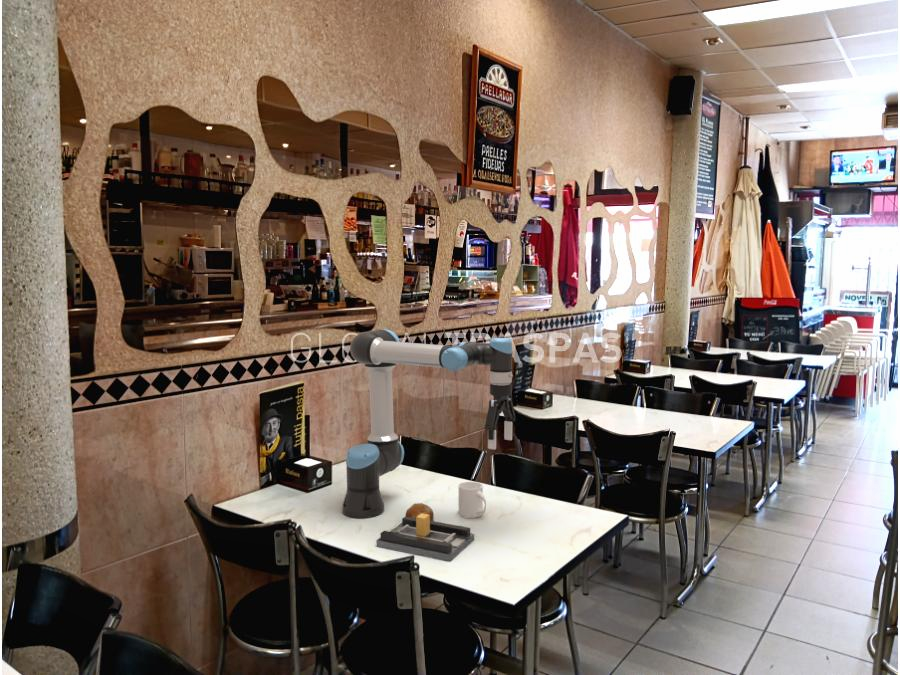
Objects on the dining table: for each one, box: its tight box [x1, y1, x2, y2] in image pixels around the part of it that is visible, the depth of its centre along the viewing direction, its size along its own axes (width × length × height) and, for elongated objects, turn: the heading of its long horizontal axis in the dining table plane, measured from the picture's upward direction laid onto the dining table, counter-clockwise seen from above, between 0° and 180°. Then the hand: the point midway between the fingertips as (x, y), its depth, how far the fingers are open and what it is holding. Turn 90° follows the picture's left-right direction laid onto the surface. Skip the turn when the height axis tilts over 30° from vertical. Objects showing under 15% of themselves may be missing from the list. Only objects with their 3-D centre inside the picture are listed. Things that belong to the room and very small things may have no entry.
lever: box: [416, 513, 430, 538], centre depth 225 cm, size 3×4×7 cm
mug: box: [458, 481, 487, 519], centre depth 248 cm, size 9×12×11 cm
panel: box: [376, 515, 475, 562], centre depth 225 cm, size 26×18×4 cm
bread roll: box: [405, 502, 435, 521], centre depth 244 cm, size 10×10×8 cm
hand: (500, 444), depth 241 cm, fingers open, 13 cm apart
